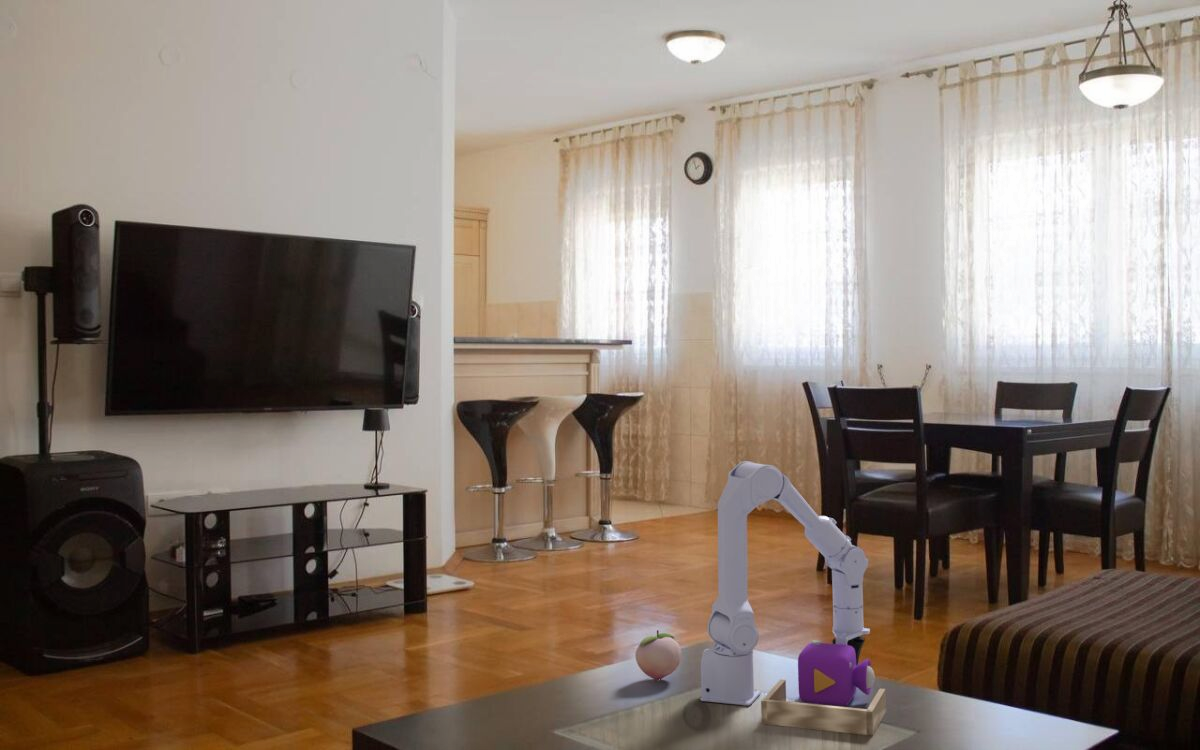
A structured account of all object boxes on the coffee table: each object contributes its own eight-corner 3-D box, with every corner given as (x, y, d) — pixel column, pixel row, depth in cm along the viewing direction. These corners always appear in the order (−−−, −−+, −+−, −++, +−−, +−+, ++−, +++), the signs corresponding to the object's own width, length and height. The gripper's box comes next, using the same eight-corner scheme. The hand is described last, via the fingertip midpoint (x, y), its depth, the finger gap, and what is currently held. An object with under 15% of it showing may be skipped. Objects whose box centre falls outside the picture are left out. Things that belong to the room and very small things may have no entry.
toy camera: (876, 710, 198) (875, 654, 198) (798, 708, 201) (796, 653, 201) (874, 691, 209) (872, 638, 208) (800, 689, 211) (798, 637, 211)
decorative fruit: (663, 690, 213) (662, 638, 213) (629, 683, 219) (628, 633, 218) (691, 678, 221) (689, 628, 221) (657, 671, 226) (656, 622, 226)
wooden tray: (761, 723, 193) (761, 700, 193) (780, 701, 205) (780, 679, 205) (872, 735, 185) (872, 711, 185) (886, 711, 197) (885, 688, 197)
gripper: (861, 615, 207) (863, 688, 207) (875, 598, 220) (877, 667, 221) (823, 613, 210) (826, 684, 210) (839, 596, 223) (841, 664, 224)
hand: (849, 675), depth 216 cm, fingers closed
